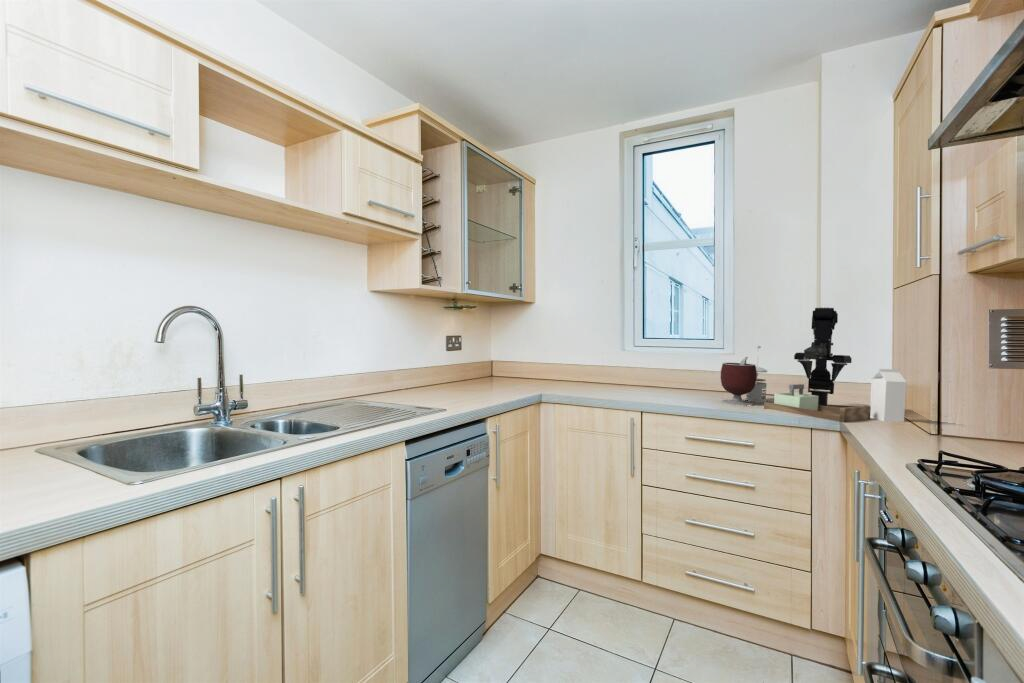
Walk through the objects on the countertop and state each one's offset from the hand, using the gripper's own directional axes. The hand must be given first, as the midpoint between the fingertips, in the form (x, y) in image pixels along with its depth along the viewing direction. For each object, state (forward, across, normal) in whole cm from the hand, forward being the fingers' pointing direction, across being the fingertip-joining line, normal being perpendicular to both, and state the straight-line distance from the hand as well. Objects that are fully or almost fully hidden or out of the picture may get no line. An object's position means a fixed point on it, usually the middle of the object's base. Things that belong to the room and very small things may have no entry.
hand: (820, 379), depth 186 cm
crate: (+12, -4, -8) cm, 15 cm away
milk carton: (+13, +20, +6) cm, 25 cm away
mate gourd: (+13, -27, -12) cm, 32 cm away
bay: (+13, +3, -8) cm, 15 cm away
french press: (+13, -30, +4) cm, 33 cm away
